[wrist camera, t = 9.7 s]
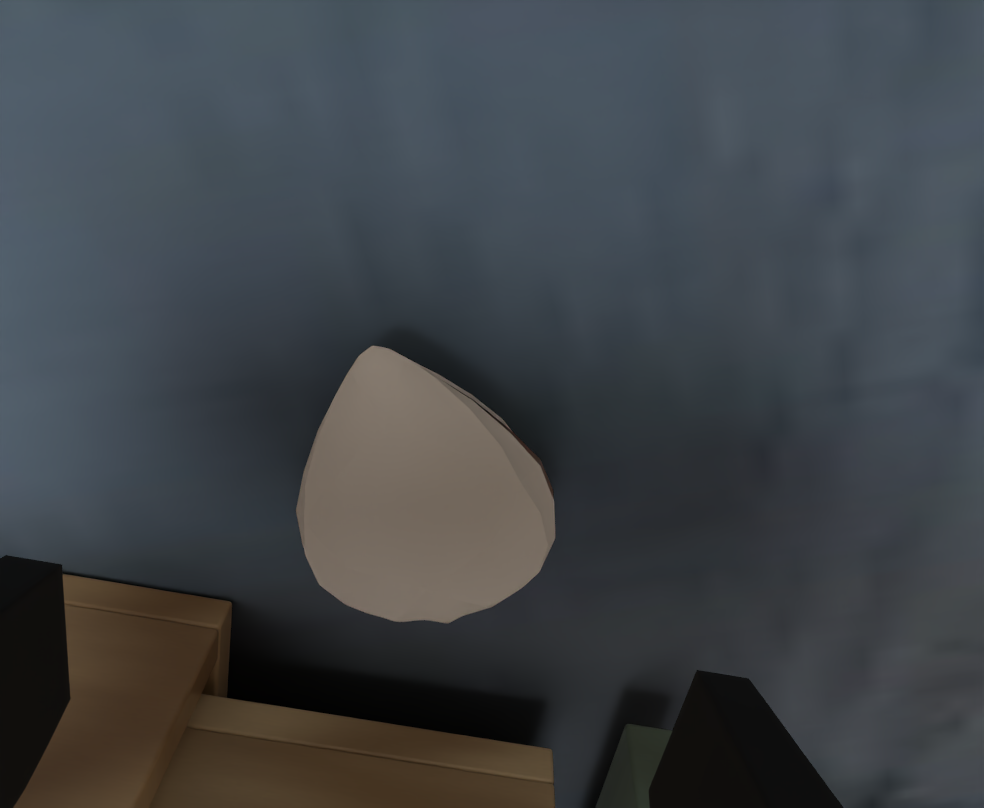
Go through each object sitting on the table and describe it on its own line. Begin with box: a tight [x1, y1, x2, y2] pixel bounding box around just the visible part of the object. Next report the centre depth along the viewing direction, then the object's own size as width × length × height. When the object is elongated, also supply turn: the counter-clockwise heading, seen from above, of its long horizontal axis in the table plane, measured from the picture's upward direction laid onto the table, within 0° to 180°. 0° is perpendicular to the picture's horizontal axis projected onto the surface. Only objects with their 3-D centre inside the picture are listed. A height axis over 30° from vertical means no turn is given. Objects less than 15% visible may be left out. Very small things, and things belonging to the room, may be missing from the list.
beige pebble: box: [296, 345, 555, 623], centre depth 13 cm, size 4×5×2 cm
